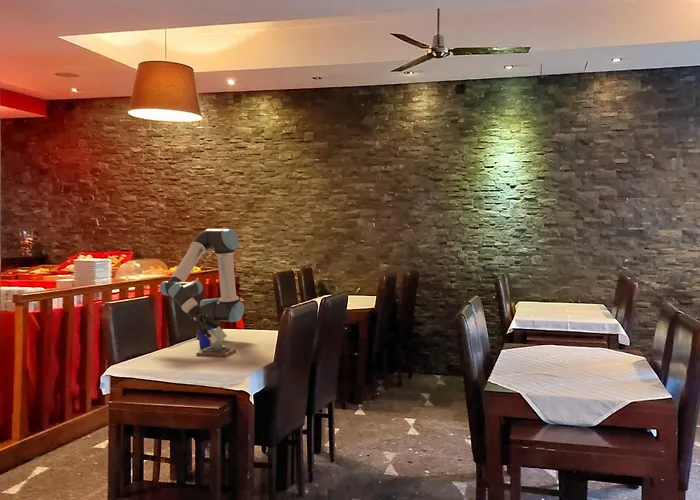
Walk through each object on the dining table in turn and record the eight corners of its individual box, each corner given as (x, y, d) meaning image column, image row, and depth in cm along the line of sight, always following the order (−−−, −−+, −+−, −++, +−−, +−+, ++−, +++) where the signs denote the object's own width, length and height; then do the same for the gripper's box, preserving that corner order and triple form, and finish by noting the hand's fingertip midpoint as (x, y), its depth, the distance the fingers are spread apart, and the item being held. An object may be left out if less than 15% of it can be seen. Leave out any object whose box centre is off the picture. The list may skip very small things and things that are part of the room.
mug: (218, 345, 332) (218, 327, 332) (211, 349, 320) (211, 330, 320) (203, 345, 333) (204, 326, 333) (196, 348, 321) (196, 330, 321)
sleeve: (212, 349, 311) (213, 328, 311) (224, 350, 310) (224, 328, 310) (208, 351, 305) (208, 329, 305) (219, 352, 304) (220, 330, 304)
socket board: (208, 350, 316) (208, 345, 316) (235, 352, 314) (235, 346, 314) (196, 355, 301) (196, 350, 301) (225, 357, 299) (225, 351, 299)
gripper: (197, 311, 322) (224, 340, 320) (176, 316, 297) (205, 348, 295) (207, 301, 321) (233, 331, 319) (187, 306, 296) (216, 338, 294)
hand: (220, 339), depth 307 cm, fingers open, 13 cm apart
